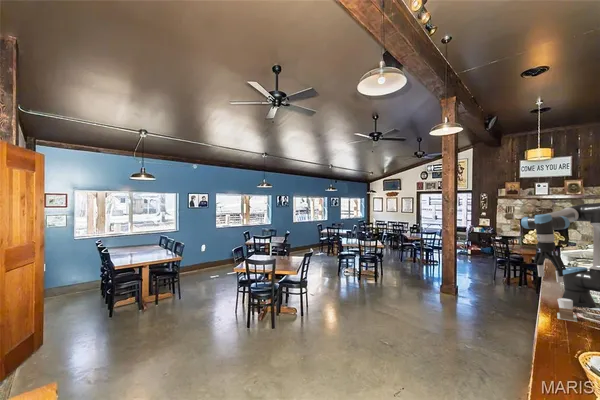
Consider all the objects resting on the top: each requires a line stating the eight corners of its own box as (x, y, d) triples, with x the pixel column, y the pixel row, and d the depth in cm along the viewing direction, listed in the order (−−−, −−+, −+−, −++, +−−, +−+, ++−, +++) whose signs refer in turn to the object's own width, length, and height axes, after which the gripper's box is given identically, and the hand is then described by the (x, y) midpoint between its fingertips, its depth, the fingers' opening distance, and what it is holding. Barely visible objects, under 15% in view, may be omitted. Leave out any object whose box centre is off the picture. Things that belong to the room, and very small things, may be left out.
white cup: (577, 313, 162) (576, 301, 162) (563, 313, 163) (562, 301, 164) (568, 309, 169) (567, 297, 169) (555, 309, 170) (554, 297, 170)
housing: (560, 315, 159) (559, 307, 159) (573, 317, 155) (572, 309, 155) (560, 318, 155) (559, 310, 155) (573, 320, 151) (572, 312, 151)
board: (557, 314, 163) (557, 312, 163) (576, 316, 157) (576, 315, 157) (557, 319, 155) (557, 318, 155) (577, 323, 149) (577, 321, 149)
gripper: (523, 239, 169) (527, 274, 168) (556, 244, 144) (561, 285, 143) (537, 238, 168) (541, 274, 167) (571, 243, 143) (577, 284, 142)
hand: (550, 279), depth 155 cm, fingers open, 13 cm apart
